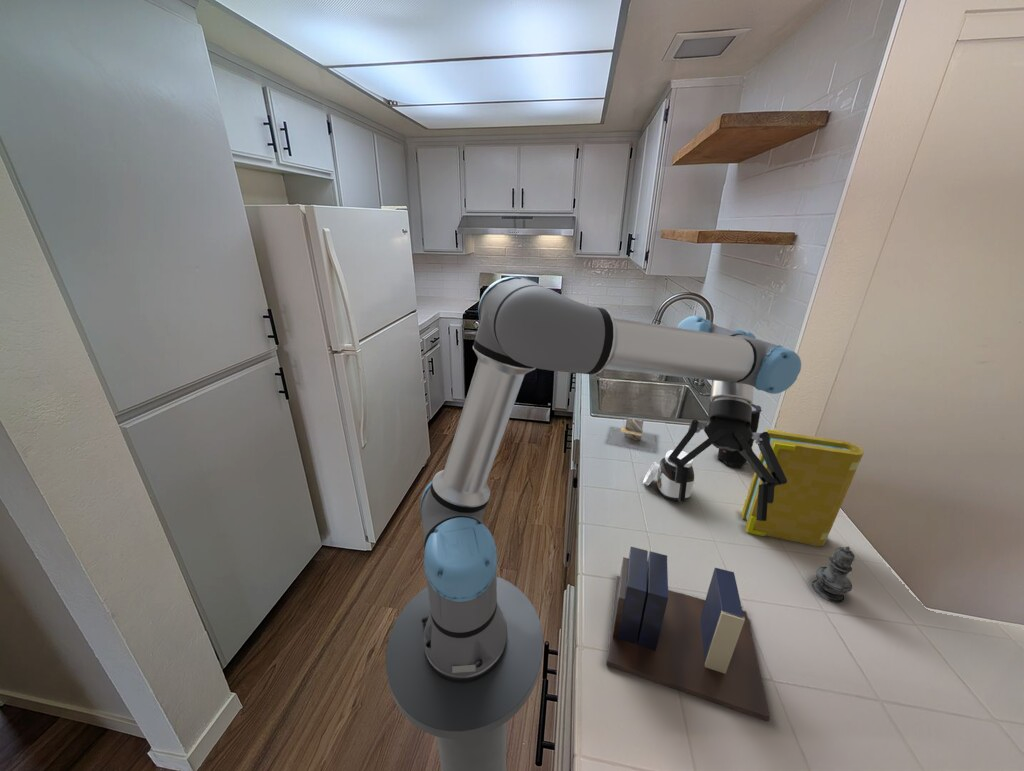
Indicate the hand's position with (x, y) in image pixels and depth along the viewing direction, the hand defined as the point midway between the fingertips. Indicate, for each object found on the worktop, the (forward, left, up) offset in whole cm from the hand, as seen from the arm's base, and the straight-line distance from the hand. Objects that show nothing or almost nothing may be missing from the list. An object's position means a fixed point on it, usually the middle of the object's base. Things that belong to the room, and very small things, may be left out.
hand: (720, 510), depth 72 cm
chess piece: (+24, +7, -19) cm, 32 cm away
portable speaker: (+13, +52, -19) cm, 57 cm away
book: (+20, +23, -19) cm, 36 cm away
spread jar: (-7, +30, -19) cm, 36 cm away
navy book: (0, -14, -18) cm, 23 cm away
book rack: (-5, -14, -19) cm, 24 cm away
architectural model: (-17, +55, -19) cm, 61 cm away
